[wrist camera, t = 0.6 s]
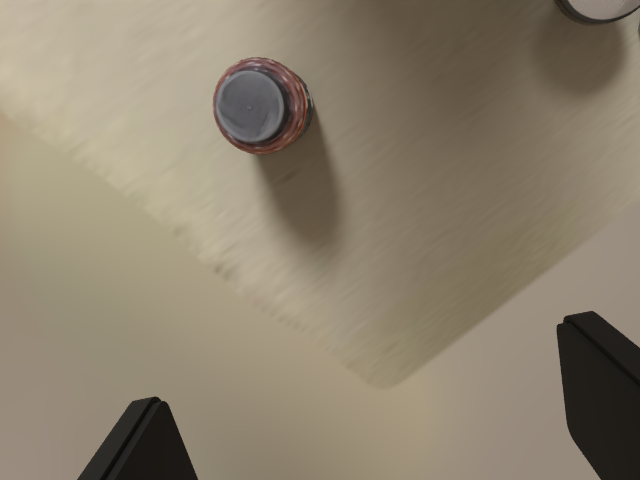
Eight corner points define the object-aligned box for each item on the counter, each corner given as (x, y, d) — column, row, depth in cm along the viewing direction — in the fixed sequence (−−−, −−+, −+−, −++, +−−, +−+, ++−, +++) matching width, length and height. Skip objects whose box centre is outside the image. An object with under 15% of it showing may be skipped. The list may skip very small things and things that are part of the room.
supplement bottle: (319, 75, 35) (311, 62, 25) (306, 150, 37) (294, 169, 26) (245, 61, 35) (204, 41, 25) (235, 137, 37) (193, 150, 26)
